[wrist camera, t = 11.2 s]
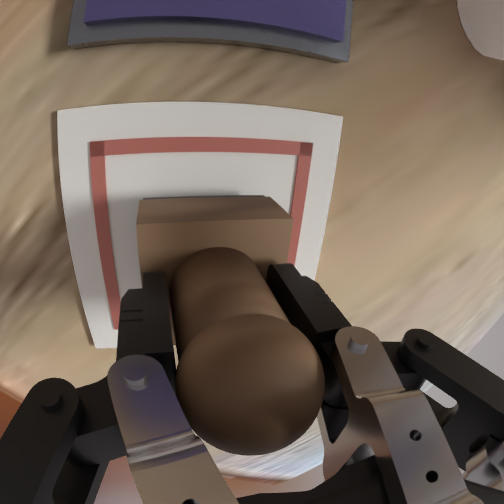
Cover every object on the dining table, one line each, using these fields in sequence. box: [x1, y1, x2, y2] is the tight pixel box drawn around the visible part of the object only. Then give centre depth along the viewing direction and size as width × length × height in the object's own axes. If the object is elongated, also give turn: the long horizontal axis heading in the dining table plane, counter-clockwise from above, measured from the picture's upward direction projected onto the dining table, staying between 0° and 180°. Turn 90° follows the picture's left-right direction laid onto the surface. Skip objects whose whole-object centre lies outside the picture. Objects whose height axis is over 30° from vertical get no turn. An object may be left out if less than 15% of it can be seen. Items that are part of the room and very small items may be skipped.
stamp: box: [136, 195, 325, 455], centre depth 9 cm, size 5×5×9 cm
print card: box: [57, 102, 343, 348], centre depth 14 cm, size 12×12×1 cm
